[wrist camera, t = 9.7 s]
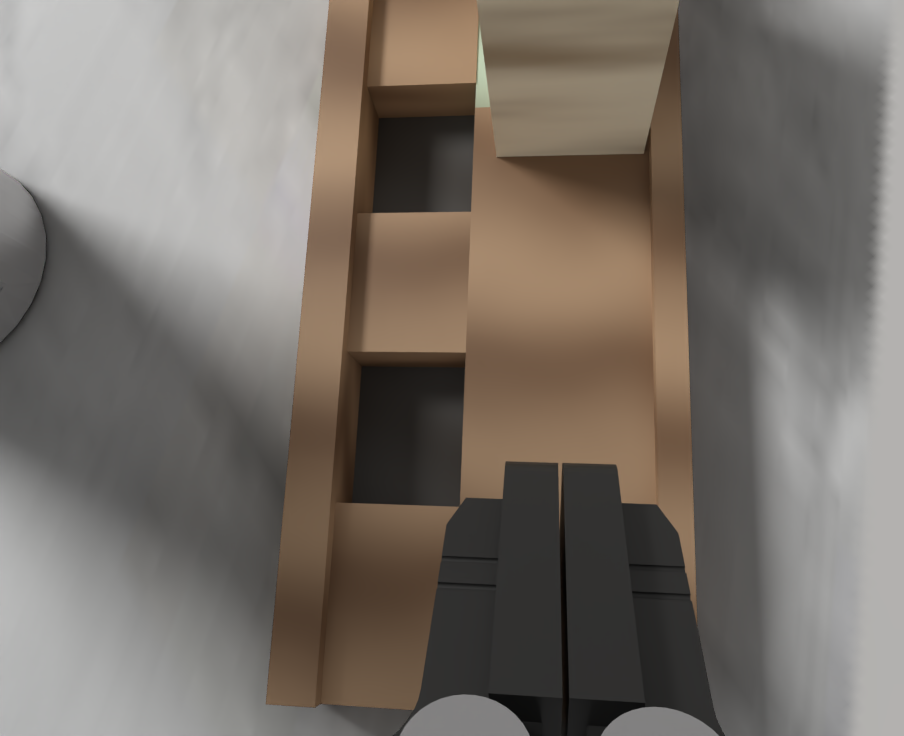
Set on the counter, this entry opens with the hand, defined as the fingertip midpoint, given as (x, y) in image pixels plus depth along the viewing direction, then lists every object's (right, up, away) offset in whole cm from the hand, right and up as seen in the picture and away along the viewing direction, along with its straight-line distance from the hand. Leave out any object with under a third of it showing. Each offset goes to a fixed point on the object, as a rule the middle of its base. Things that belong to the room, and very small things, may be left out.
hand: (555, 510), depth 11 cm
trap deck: (0, +6, +18) cm, 19 cm away
